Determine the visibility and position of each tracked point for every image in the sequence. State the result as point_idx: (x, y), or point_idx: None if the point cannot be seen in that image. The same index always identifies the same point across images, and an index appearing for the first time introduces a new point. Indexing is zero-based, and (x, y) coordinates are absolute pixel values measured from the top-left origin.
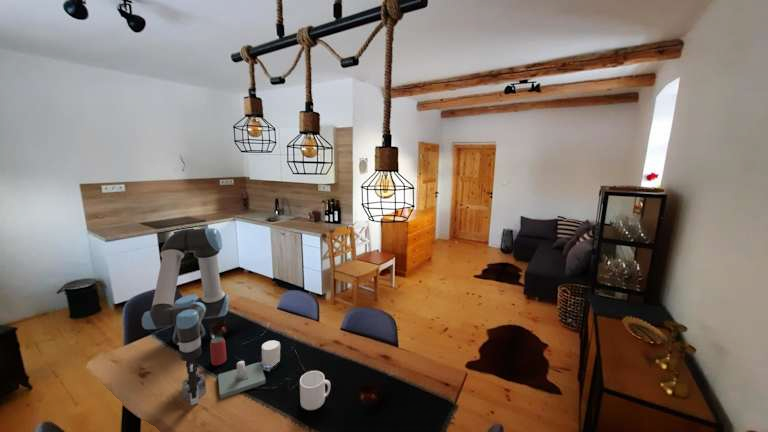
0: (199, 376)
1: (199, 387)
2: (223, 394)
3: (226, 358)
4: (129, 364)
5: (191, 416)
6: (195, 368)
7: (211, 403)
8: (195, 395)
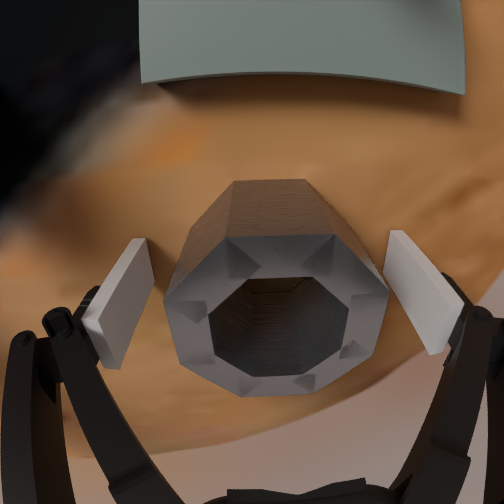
0: (227, 290)
1: (372, 265)
2: (460, 69)
3: None
4: None
5: (468, 261)
6: (88, 336)
7: (449, 153)
8: (456, 289)
